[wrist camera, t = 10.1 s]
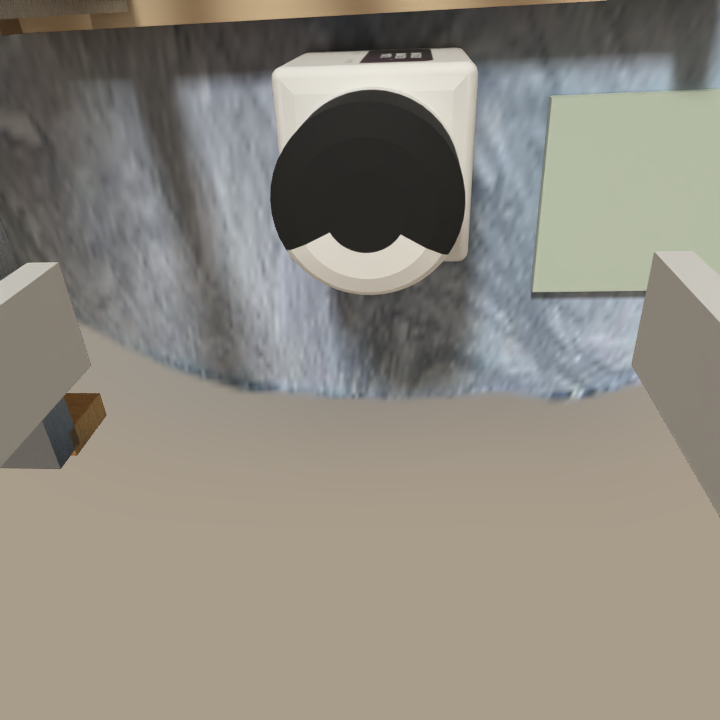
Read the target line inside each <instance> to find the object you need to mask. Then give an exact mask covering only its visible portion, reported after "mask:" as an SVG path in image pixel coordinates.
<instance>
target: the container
mask: <svg viewBox="0 0 720 720" xmlns="http://www.w3.org/2000/svg"><path fill="white" fill-rule="evenodd" d="M477 84H478V70H477V67H476V65H475V64H474V63H473V62H472V60H471V59H470V58H469V57H468V56H467V54H466V53H465V52H464V51H463V50H462V49H461V48H458V47H450V48H420V49H390V50H359V51H329V52H308V53H305V54H303V55H301V56H299V57H297V58H295V59H294V60H292V61H290V62H288V63H286V64H284V65H282V66H280V67H278V68H277V69H275V71H274V72H273V73H272V88H273V98H274V109H275V119H276V129H277V139H278V149H279V158H278V160H277V163H276V166H275V169H274V172H273V177H272V183H271V198H270V201H271V210H272V216H273V220H274V224H275V227H276V230H277V232H278V235H279V237H280V240H281V241H282V243H283V245H284V247H285V248H286V250H287V251H288V253H289V255H290V258H291V259H292V260H293V261H295V262H296V263H297V264H298V265H299V266H300V267H301V268H302V269H303V270H304V271H306V272H307V273H308V274H309V275H311V276H312V277H313V278H315V279H317V280H318V281H320V282H322V283H323V284H325V285H328V286H330V287H332V288H334V289H337V290H340V291H344V292H347V293H353V294H359V295H379V294H387V293H391V292H396V291H399V290H402V289H404V288H407V287H410V286H412V285H413V284H415V283H417V282H419V281H421V280H422V279H424V278H425V277H426V276H428V275H429V274H431V273H432V272H433V271H434V270H435V269H436V268H437V267H438V266H439V265H440V264H441V263H442V262H443V261H461V260H463V259H464V258H465V257H466V256H467V253H468V242H469V224H470V207H471V189H472V171H473V154H474V136H475V119H476V101H477Z"/></svg>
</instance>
